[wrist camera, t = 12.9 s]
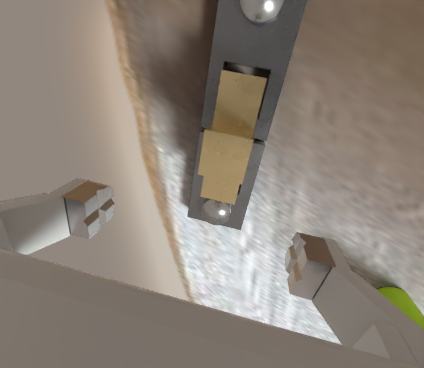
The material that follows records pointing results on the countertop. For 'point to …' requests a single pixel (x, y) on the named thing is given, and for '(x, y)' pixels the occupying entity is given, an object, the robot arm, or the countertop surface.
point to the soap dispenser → (403, 303)
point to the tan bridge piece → (230, 136)
